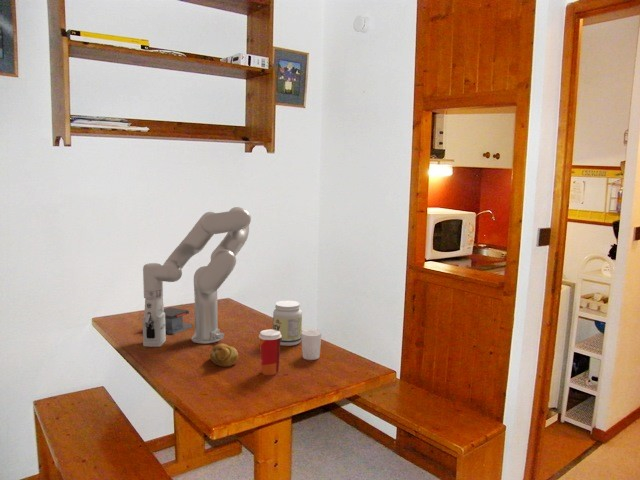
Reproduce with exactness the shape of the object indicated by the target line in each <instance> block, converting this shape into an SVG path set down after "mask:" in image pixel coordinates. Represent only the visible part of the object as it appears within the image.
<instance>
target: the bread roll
mask: <svg viewBox="0 0 640 480" xmlns="http://www.w3.org/2000/svg"><path fill="white" fill-rule="evenodd" d="M209 356H210V360H211V362H212V363H213V364H214V365H216V366H218V367H223V368H225V367H230V366H234V365H235V364H236V363H237V362H238V361H239V352H238V350H237V349H236V348H235V347H234V346H229V345H228V344H226V343H223V342H222V343H218V344H215V345H214V346H212V348H211V349H210V353H209Z"/></svg>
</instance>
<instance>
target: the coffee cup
mask: <svg viewBox="0 0 640 480" xmlns="http://www.w3.org/2000/svg"><path fill="white" fill-rule="evenodd" d="M281 337H282V335H281V333H280V331H277V330H273V328H272V329H271V328H270V329H263V330H261V331H260V332H259V335H258V338H259V349H260V364H261V366H260V367H261V368H260V369H261V374H262V375H263V376H264V375H265V376H275V375H277V374H279V366H280V353H281V345H280V340H281Z"/></svg>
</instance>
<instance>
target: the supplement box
mask: <svg viewBox="0 0 640 480" xmlns="http://www.w3.org/2000/svg"><path fill="white" fill-rule="evenodd" d="M150 321H153V320H152V318H150ZM150 324H151V325H152V323H150ZM153 329H155V338H147V334H146V324H145V315H143V316H142V336H143V337H142V342H143V343H142V345H143V347H151V348H152V347H154V348H155V347H156V348H157V347H161V346H162V345H164V343H165V342H167V341H166V336H167V334H166V330H165V313H162V314H161V315H160V316H158V322H157V323H155V322H154V328H153Z"/></svg>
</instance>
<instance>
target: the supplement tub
mask: <svg viewBox="0 0 640 480" xmlns="http://www.w3.org/2000/svg"><path fill="white" fill-rule="evenodd" d="M274 308H275V309H274V311H273V314H272V318H273V319H272V321H273V322H272V326H273V327H272V330H277V331H280V333H281V335H282V337H281V340H280V346H283V347H284V346H286V347H290V346H291V347H292V346H296V345H298V344H300V343H302V338H301V332H302V331H303V324H302V323H303V311H302V309H300V308H301V303H300V302H299V301H296V300H279V301H276V302H275V307H274Z"/></svg>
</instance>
